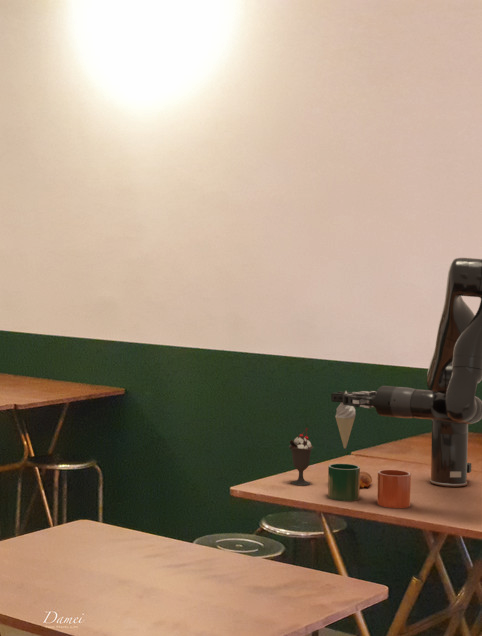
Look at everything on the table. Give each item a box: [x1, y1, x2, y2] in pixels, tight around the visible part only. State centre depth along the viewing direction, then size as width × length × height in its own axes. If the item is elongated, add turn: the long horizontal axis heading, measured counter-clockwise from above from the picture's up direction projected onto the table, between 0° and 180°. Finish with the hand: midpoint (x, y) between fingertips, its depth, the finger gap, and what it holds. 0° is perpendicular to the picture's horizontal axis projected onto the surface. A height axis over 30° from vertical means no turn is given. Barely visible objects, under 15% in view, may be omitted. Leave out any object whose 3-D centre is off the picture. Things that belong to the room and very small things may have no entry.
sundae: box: [288, 427, 315, 486], centre depth 296 cm, size 7×7×15 cm
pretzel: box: [360, 471, 373, 488], centre depth 294 cm, size 12×11×4 cm
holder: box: [376, 469, 412, 509], centre depth 272 cm, size 8×8×8 cm
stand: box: [327, 463, 361, 502], centre depth 280 cm, size 8×8×8 cm
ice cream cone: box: [334, 390, 357, 449], centre depth 279 cm, size 5×5×15 cm
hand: (335, 396), depth 280 cm, fingers closed on ice cream cone, 2 cm apart
